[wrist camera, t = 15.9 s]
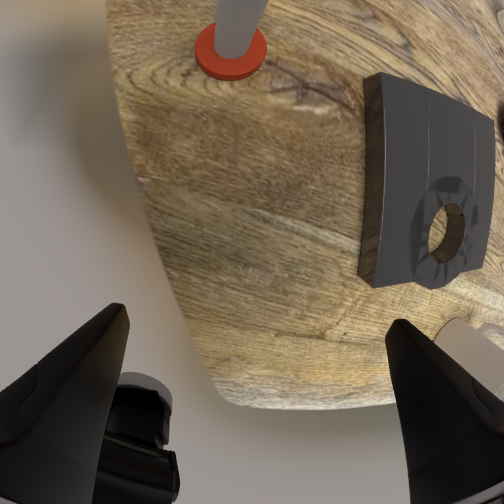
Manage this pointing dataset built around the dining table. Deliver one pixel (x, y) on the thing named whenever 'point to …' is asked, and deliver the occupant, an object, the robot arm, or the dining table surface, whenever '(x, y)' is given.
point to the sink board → (423, 184)
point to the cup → (501, 19)
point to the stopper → (232, 41)
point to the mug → (475, 352)
